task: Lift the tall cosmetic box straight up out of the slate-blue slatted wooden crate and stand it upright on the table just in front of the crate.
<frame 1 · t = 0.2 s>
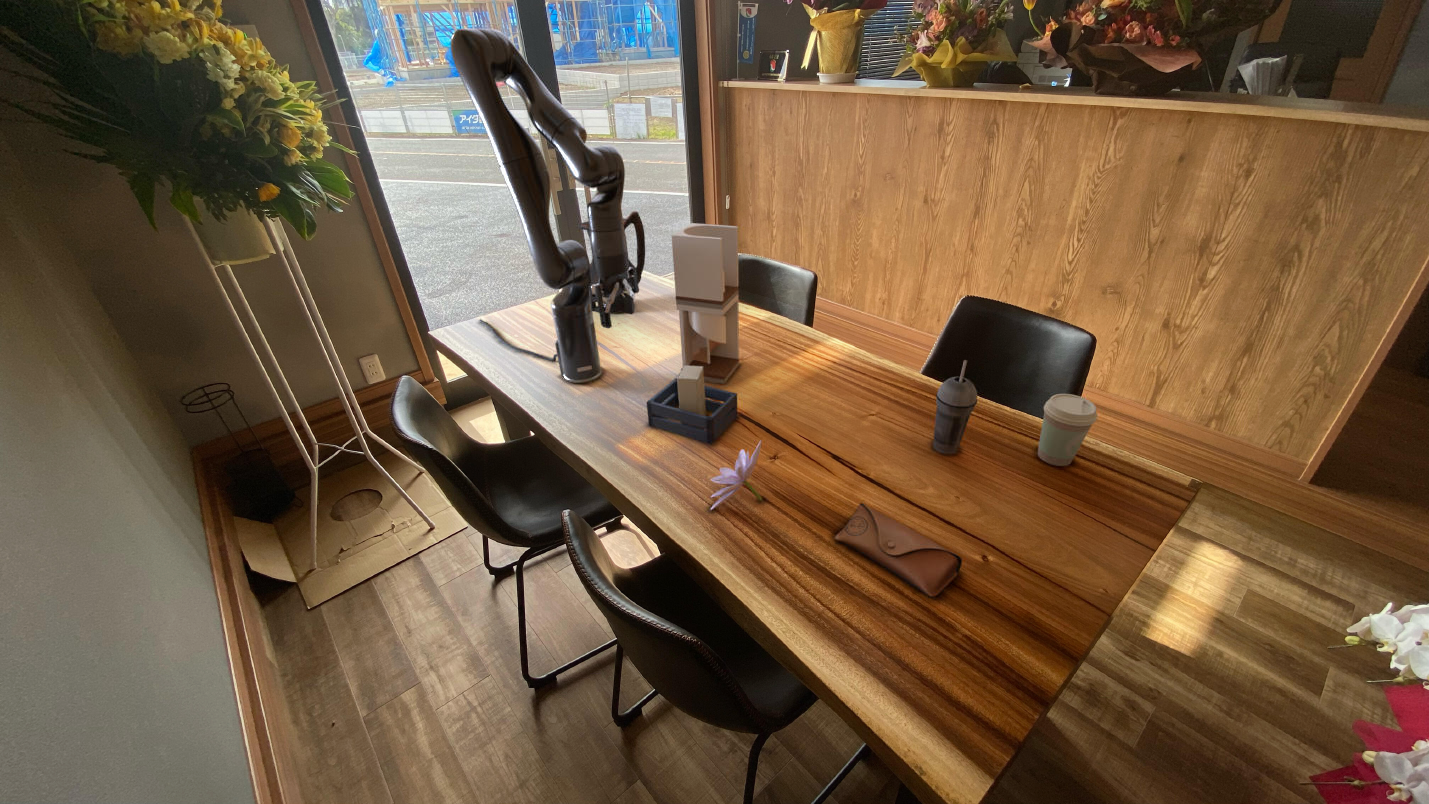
hand: (618, 320, 129), 17 cm above the table, tool pointing down, fingers open, 8 cm apart
coffee cup: (1054, 457, 110), on the table
beverage cup: (945, 448, 114), on the table
two-tier display stand: (710, 371, 144), on the table
crate: (693, 421, 124), on the table
sunglasses case: (893, 555, 90), on the table
cosmetic box: (693, 421, 125), resting in crate
water lily: (735, 493, 104), on the table
jug: (618, 308, 182), on the table
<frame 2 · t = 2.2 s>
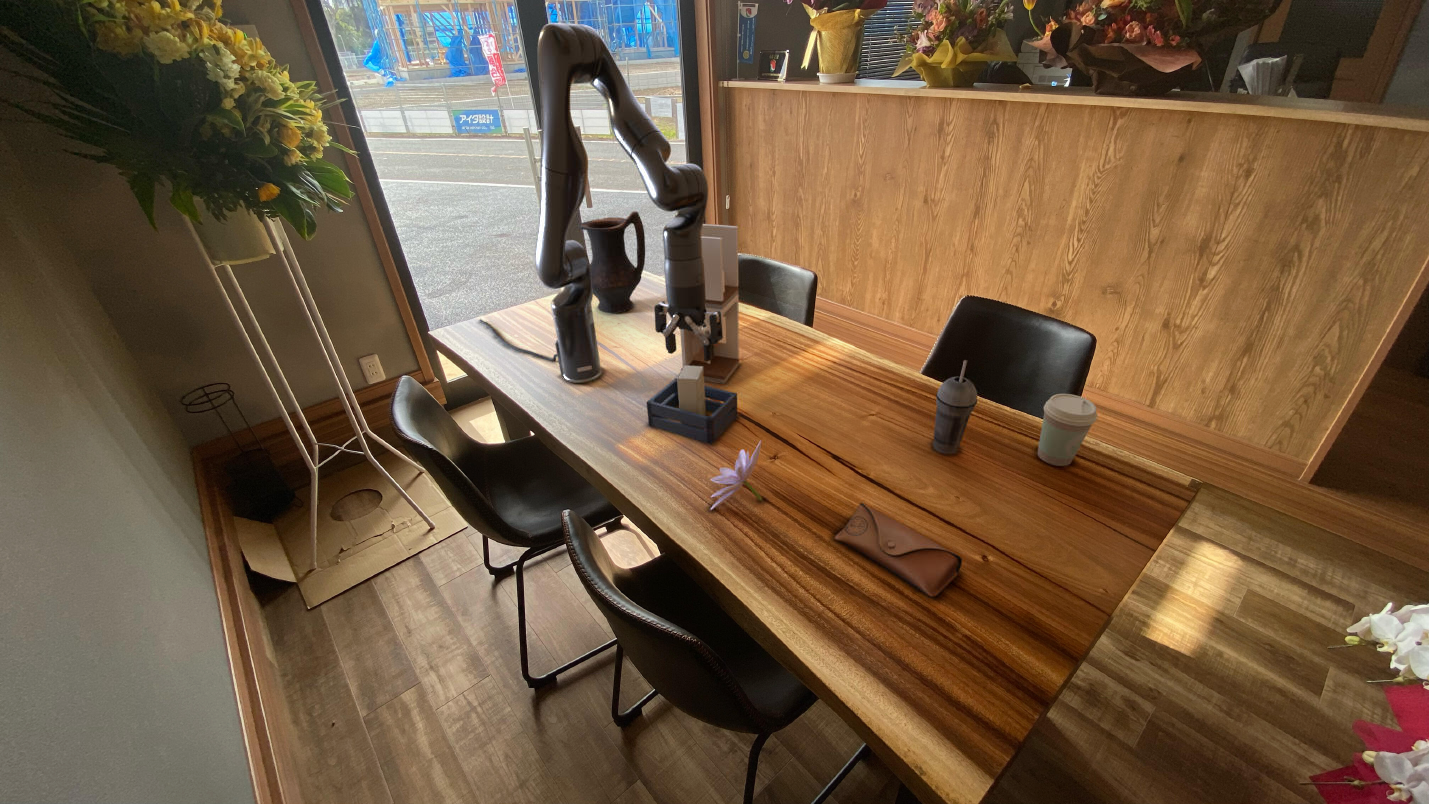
hand: (689, 355, 116), 16 cm above the table, tool pointing down, fingers open, 8 cm apart
nothing on the table moved.
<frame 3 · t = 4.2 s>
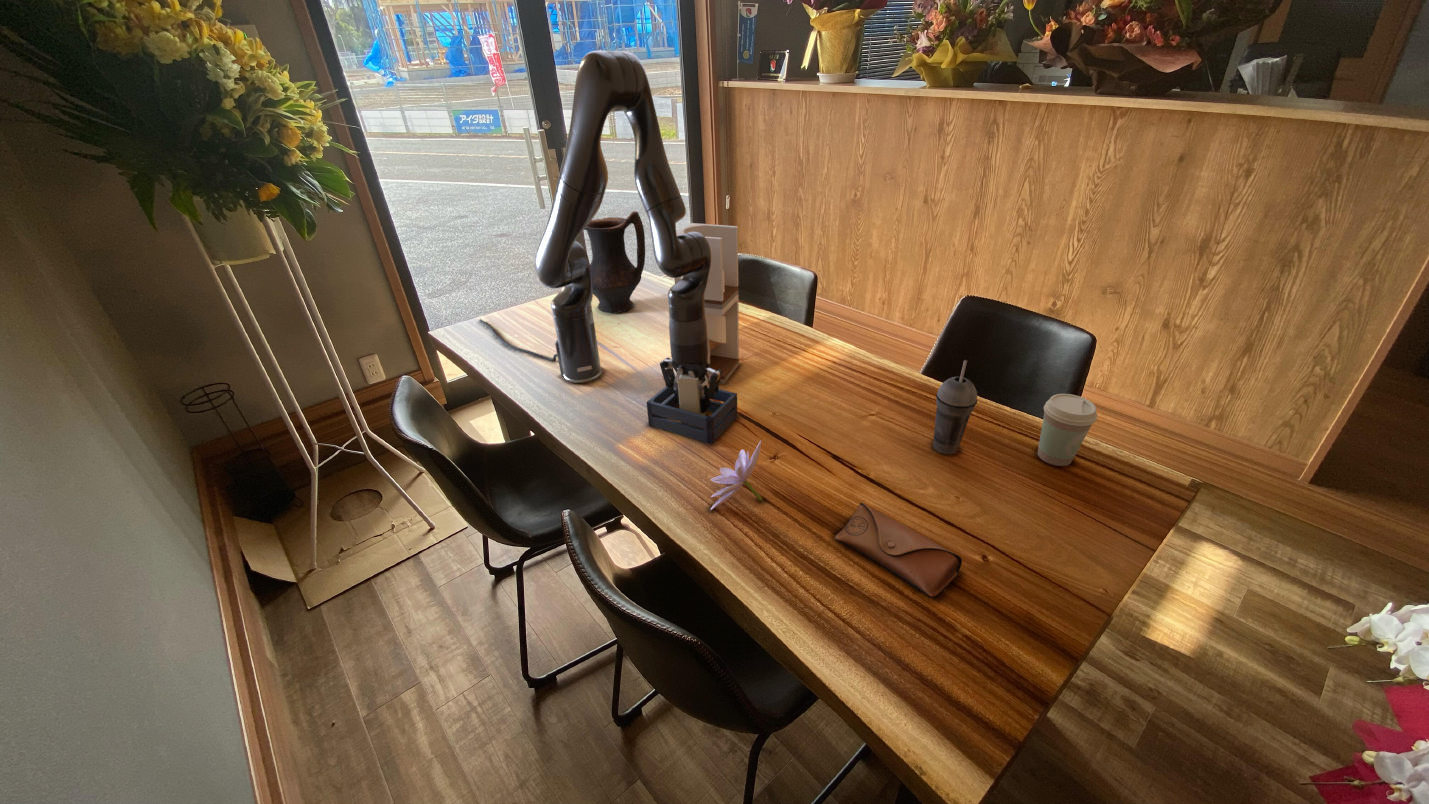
hand: (692, 407, 123), 3 cm above the table, tool pointing down, fingers closed on cosmetic box, 5 cm apart
cosmetic box: (693, 421, 125), resting in crate, touching gripper
everything else where it was.
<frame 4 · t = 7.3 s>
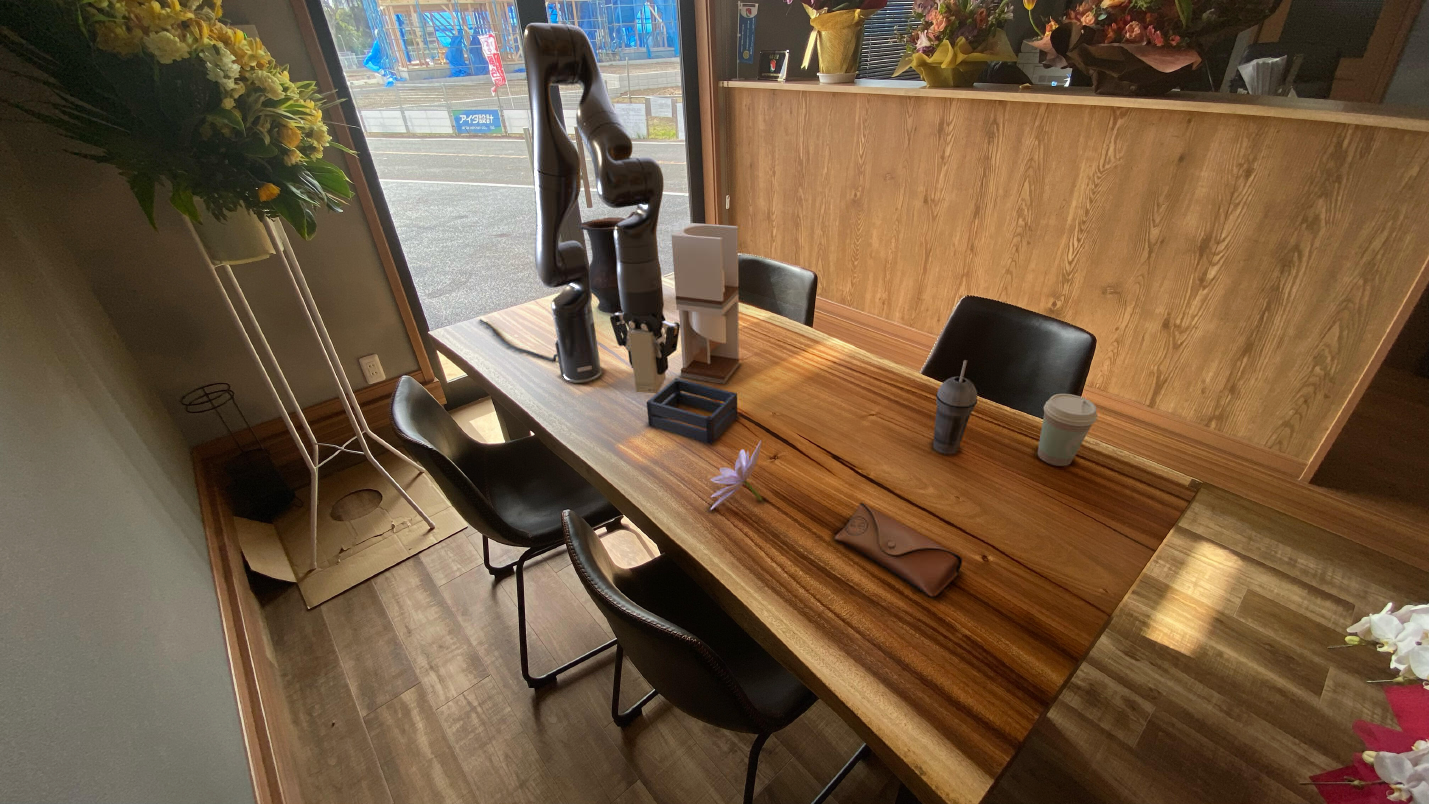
hand: (649, 369, 107), 18 cm above the table, tool pointing down, fingers closed on cosmetic box, 5 cm apart
cosmetic box: (650, 386, 109), point 14 cm above the table, touching gripper
everything else where it was.
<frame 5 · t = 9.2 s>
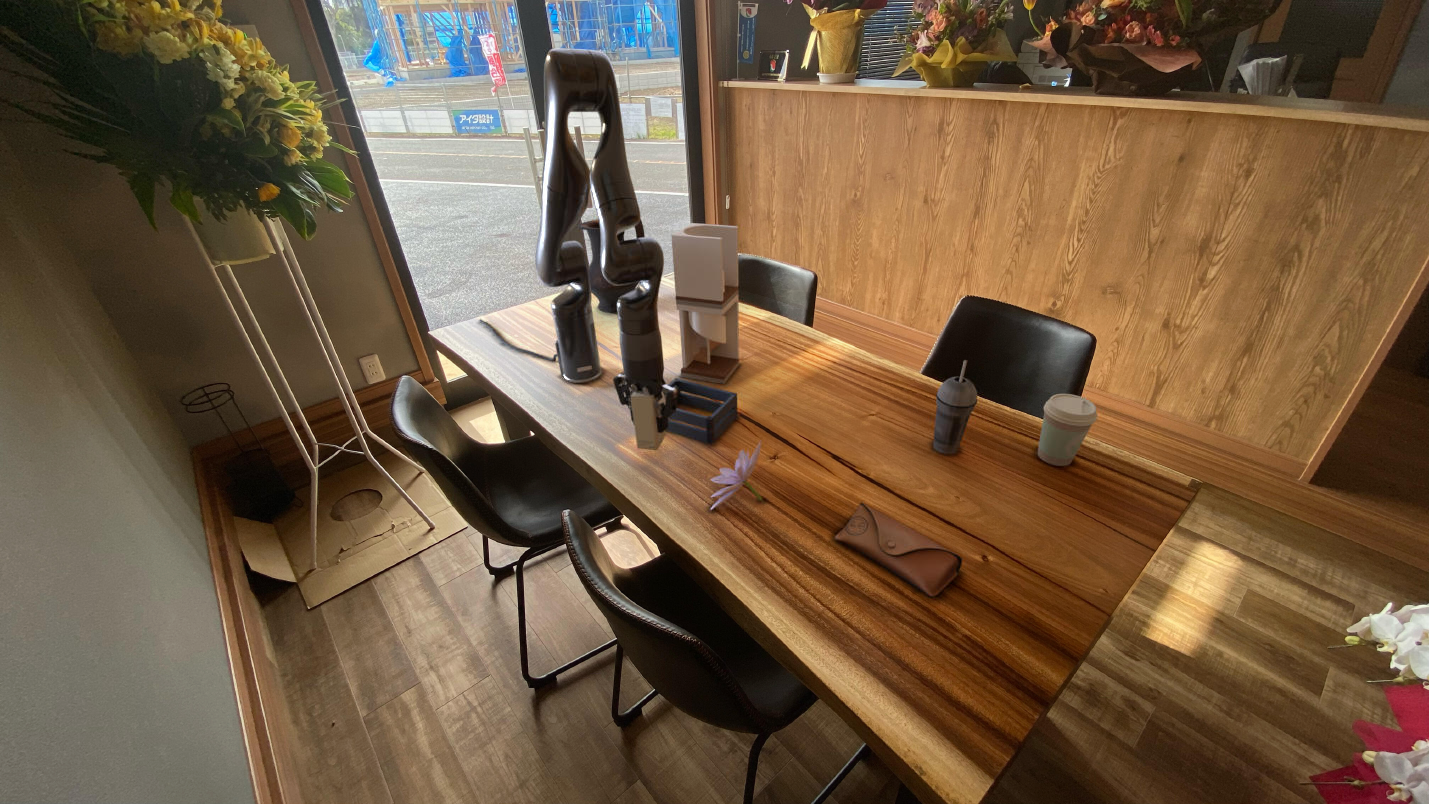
hand: (650, 426, 113), 6 cm above the table, tool pointing down, fingers closed on cosmetic box, 5 cm apart
cosmetic box: (651, 442, 115), point 2 cm above the table, touching gripper
everything else where it was.
when the fingers open (3 cm above the table, at t = 10.4 s): cosmetic box stays where it is, on the table.
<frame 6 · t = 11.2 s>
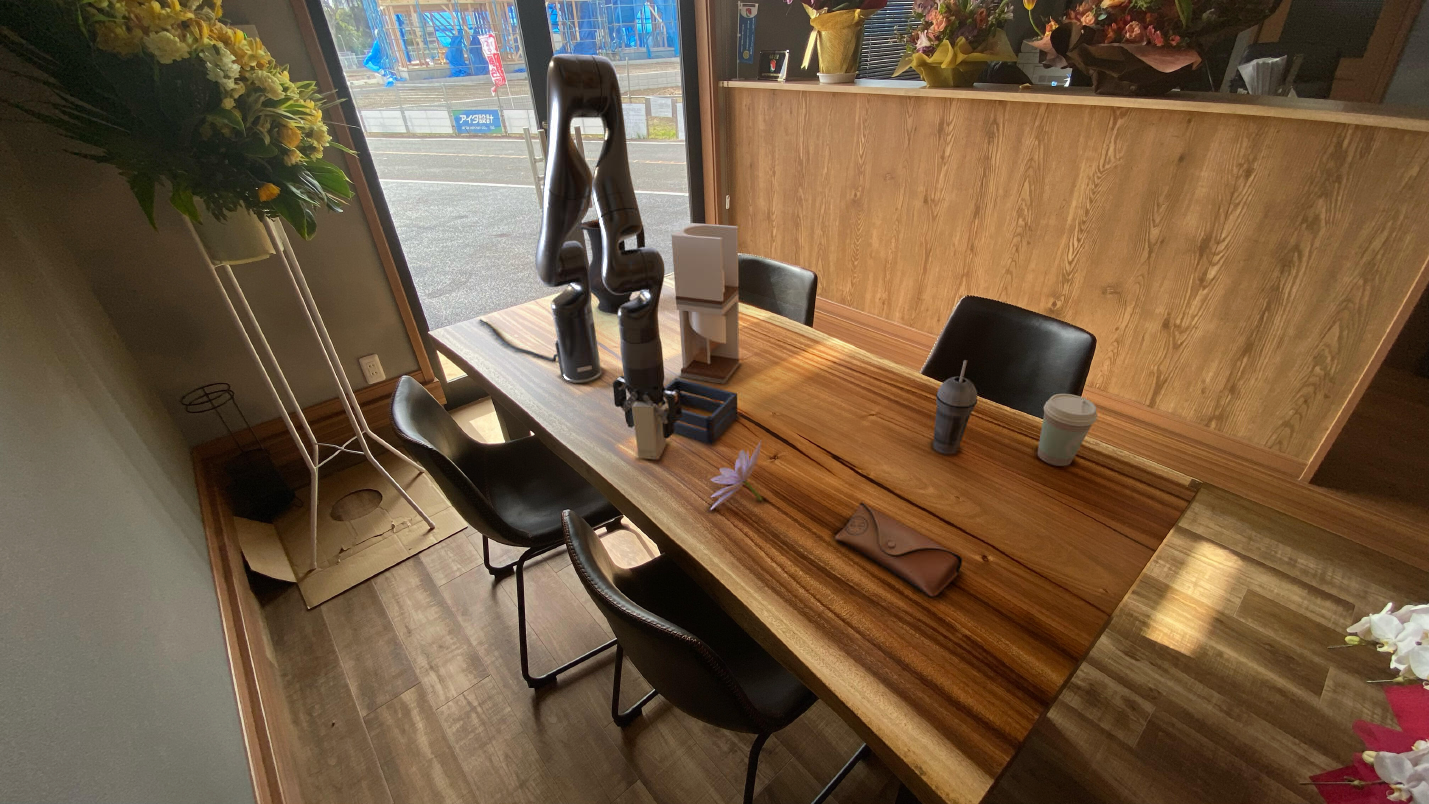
hand: (650, 430, 113), 5 cm above the table, tool pointing down, fingers open, 8 cm apart
cosmetic box: (652, 451, 116), on the table
everything else where it was.
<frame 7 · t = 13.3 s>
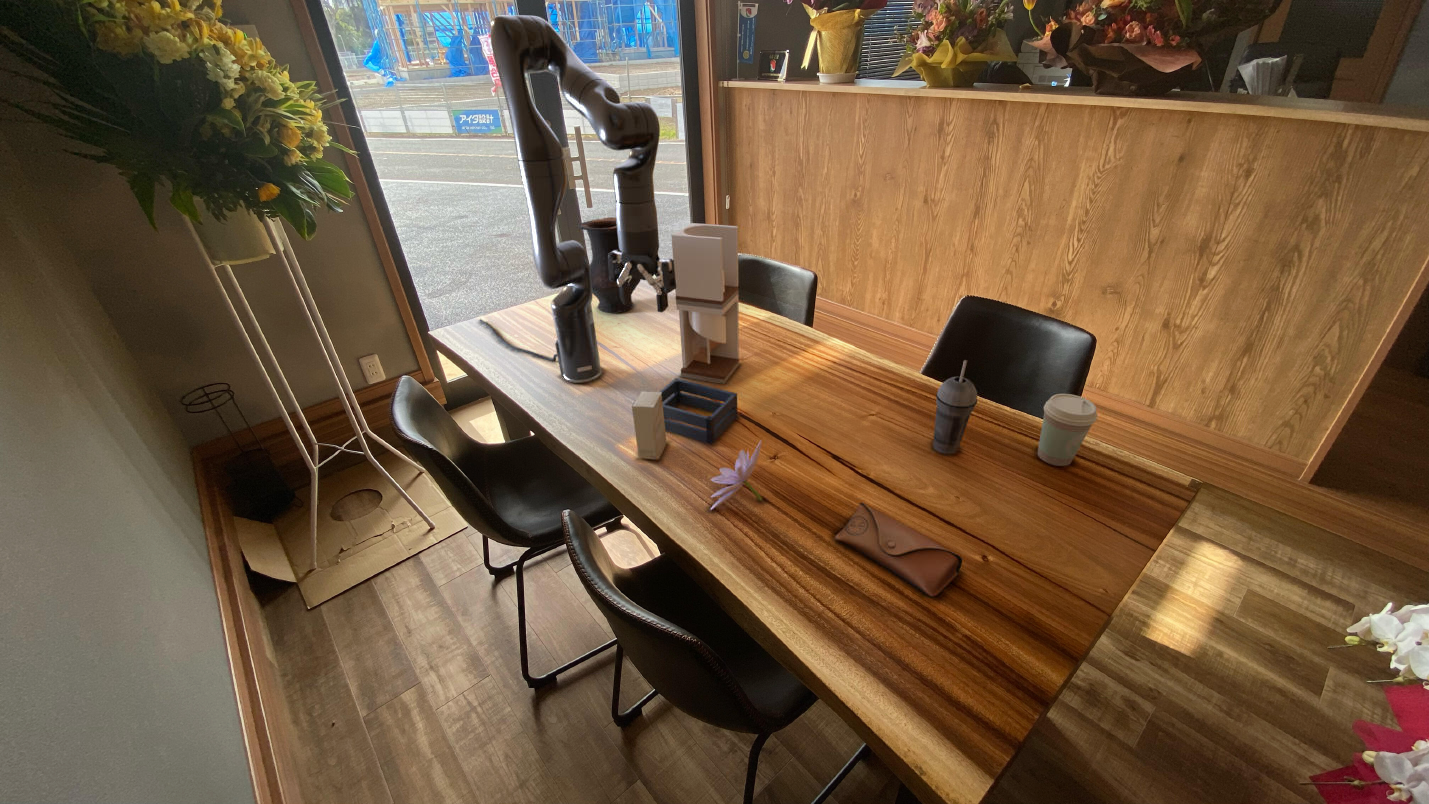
hand: (644, 307, 114), 26 cm above the table, tool pointing down, fingers open, 8 cm apart
nothing on the table moved.
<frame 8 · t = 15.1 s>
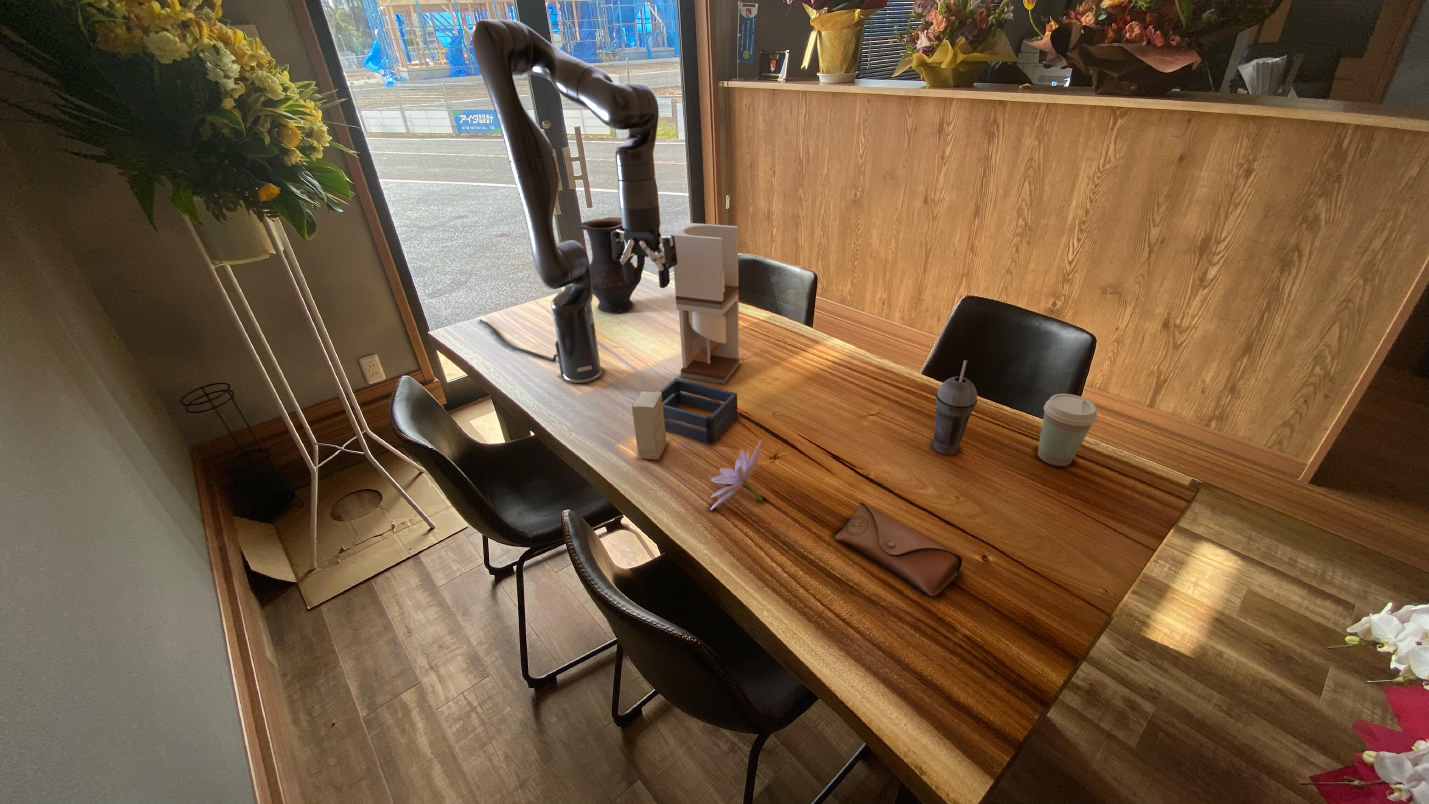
hand: (646, 283, 118), 28 cm above the table, tool pointing down, fingers open, 8 cm apart
nothing on the table moved.
at the end: cosmetic box inside the target area (0.6 cm from its centre), on the table; cosmetic box tilted 0°; cosmetic box touching table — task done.
